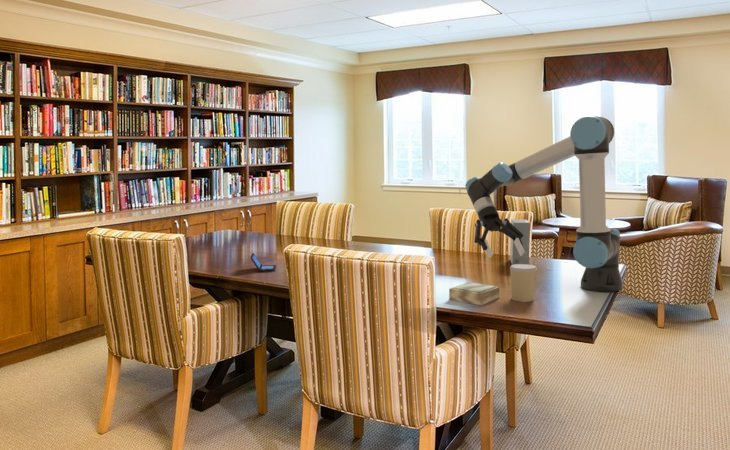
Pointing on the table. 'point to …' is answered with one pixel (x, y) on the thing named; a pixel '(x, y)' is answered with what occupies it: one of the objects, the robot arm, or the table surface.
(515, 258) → the hard drive box
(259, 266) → the handheld game console
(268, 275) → the table surface
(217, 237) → the table surface
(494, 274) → the table surface
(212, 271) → the table surface
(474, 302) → the birch riser
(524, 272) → the coffee cup
